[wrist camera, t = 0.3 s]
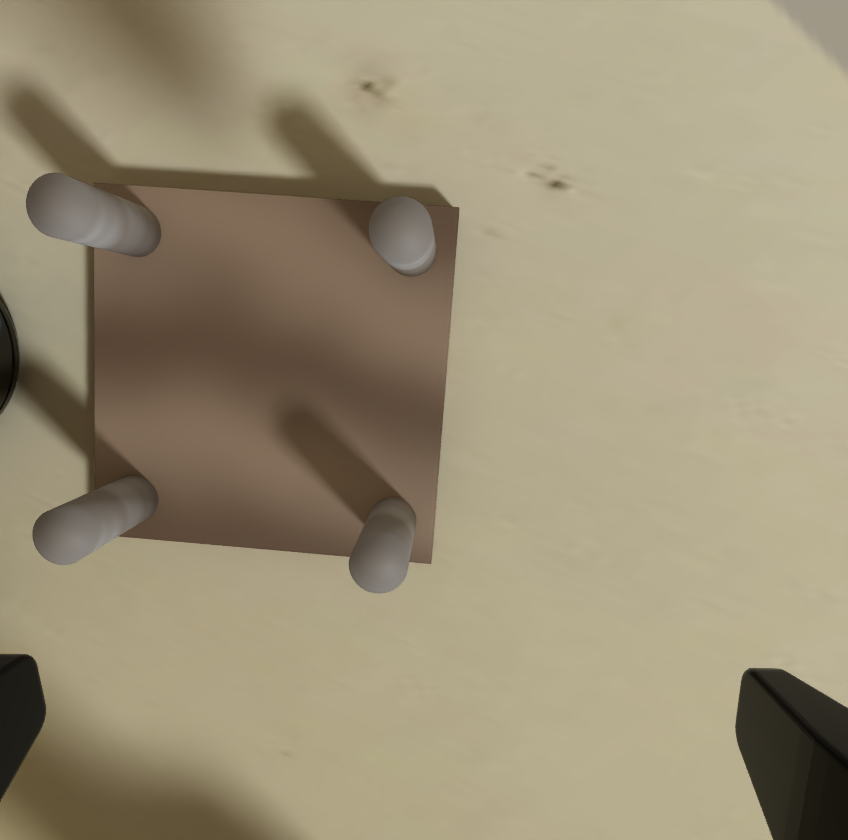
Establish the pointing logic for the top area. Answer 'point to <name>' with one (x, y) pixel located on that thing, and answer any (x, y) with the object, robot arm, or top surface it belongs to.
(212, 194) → the cradle
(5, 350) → the supplement container
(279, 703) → the top surface
